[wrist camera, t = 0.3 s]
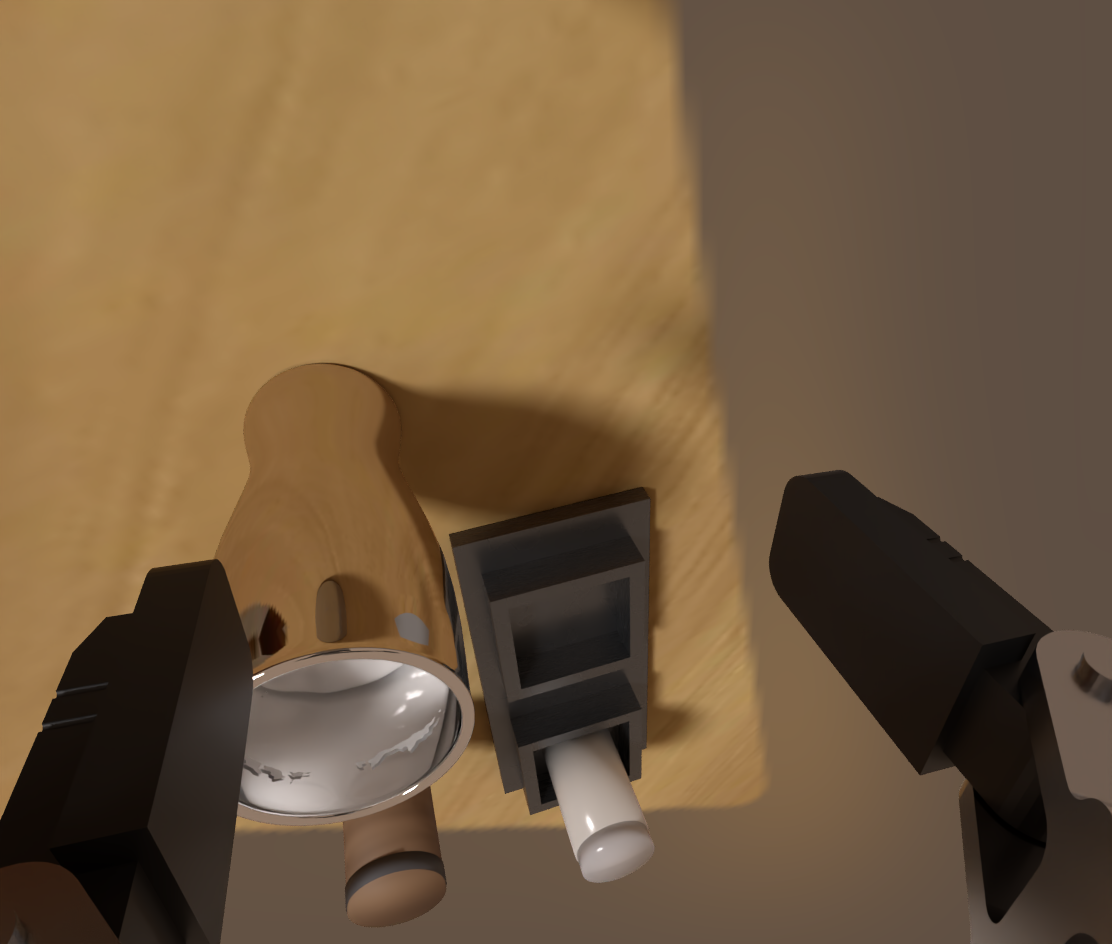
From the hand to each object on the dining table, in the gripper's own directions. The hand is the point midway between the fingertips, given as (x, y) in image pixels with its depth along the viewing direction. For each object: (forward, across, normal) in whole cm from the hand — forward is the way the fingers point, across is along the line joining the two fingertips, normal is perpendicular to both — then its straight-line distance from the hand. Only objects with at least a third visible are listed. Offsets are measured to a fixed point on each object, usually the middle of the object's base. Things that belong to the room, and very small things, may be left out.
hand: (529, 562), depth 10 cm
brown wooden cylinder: (+20, +4, +26) cm, 33 cm away
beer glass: (+19, +4, +7) cm, 21 cm away
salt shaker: (+19, -7, +31) cm, 38 cm away
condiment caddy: (+20, -6, +24) cm, 32 cm away
